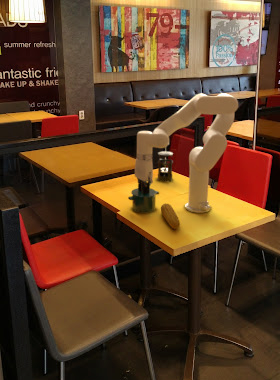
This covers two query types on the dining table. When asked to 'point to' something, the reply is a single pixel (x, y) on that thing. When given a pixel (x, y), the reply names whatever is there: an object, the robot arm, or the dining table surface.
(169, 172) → the french press
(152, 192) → the lid
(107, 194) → the dining table surface
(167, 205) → the food
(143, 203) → the pot
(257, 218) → the dining table surface
